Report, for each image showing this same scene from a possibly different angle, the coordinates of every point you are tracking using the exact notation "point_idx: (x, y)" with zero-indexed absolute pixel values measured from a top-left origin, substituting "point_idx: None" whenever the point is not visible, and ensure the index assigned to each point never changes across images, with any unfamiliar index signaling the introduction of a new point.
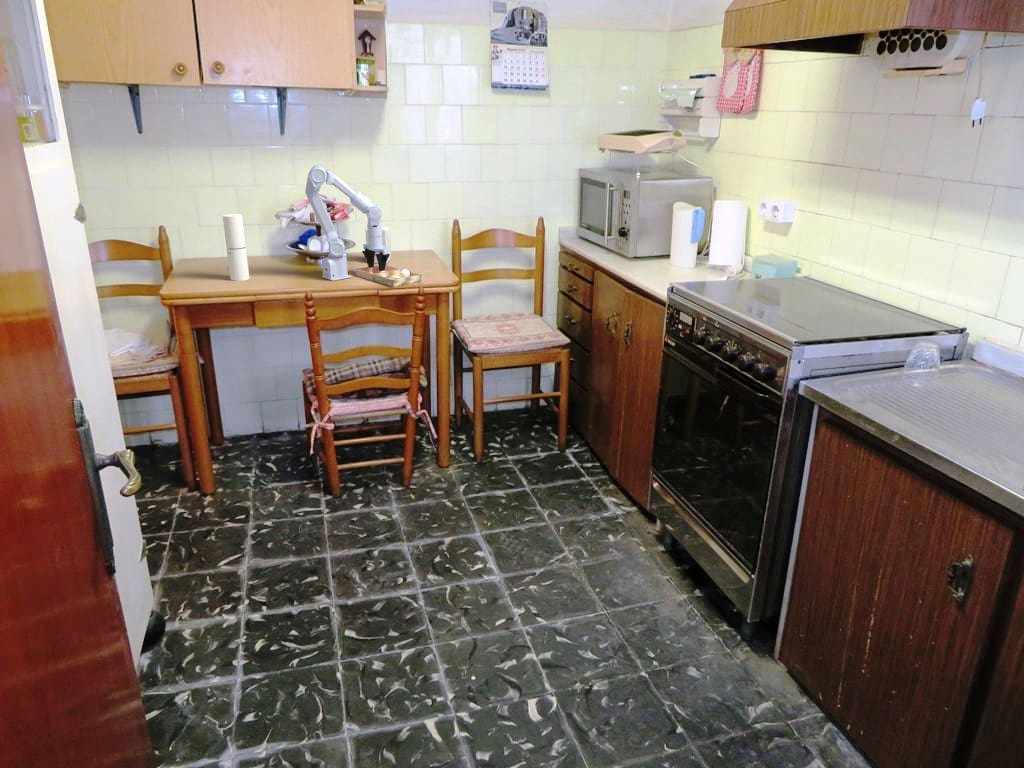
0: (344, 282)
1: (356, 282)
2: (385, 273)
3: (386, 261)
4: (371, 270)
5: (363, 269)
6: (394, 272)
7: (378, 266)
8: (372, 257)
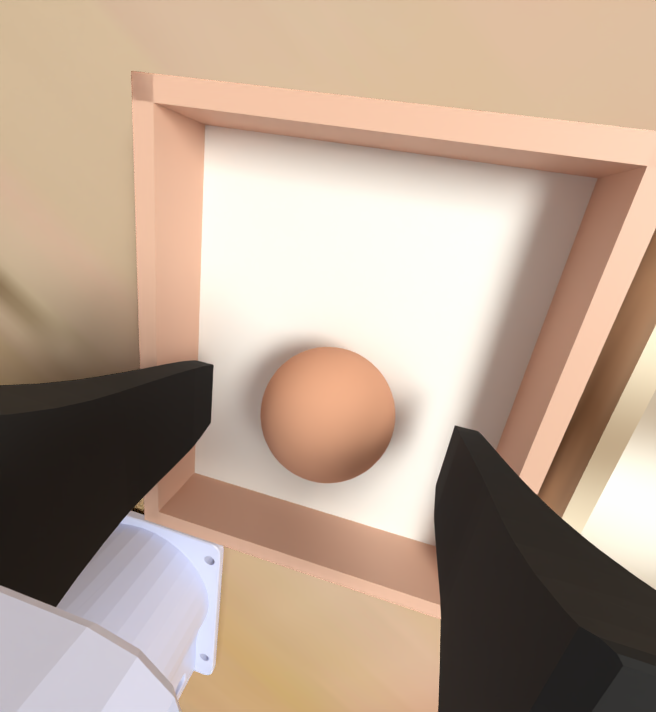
0: (300, 664)
1: (372, 639)
2: (582, 518)
3: (570, 532)
4: (186, 328)
5: None
6: (652, 368)
7: (349, 446)
8: (100, 441)
